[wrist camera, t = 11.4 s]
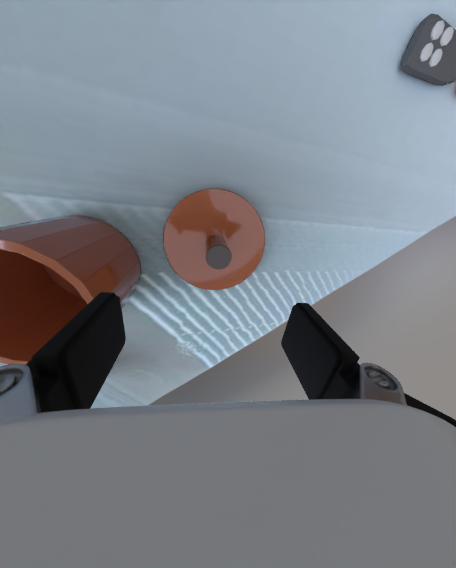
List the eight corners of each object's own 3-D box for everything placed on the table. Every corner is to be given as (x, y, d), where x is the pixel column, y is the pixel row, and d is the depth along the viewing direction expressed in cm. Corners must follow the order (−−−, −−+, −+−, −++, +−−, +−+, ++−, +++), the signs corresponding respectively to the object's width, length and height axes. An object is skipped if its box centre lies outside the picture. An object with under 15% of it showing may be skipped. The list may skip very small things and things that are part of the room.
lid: (201, 162, 19) (200, 151, 14) (281, 232, 24) (303, 243, 19) (146, 254, 23) (130, 272, 18) (225, 300, 27) (230, 324, 22)
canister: (54, 191, 19) (-90, 191, 10) (157, 253, 23) (127, 294, 14) (24, 275, 22) (-104, 334, 13) (119, 315, 26) (74, 382, 17)
